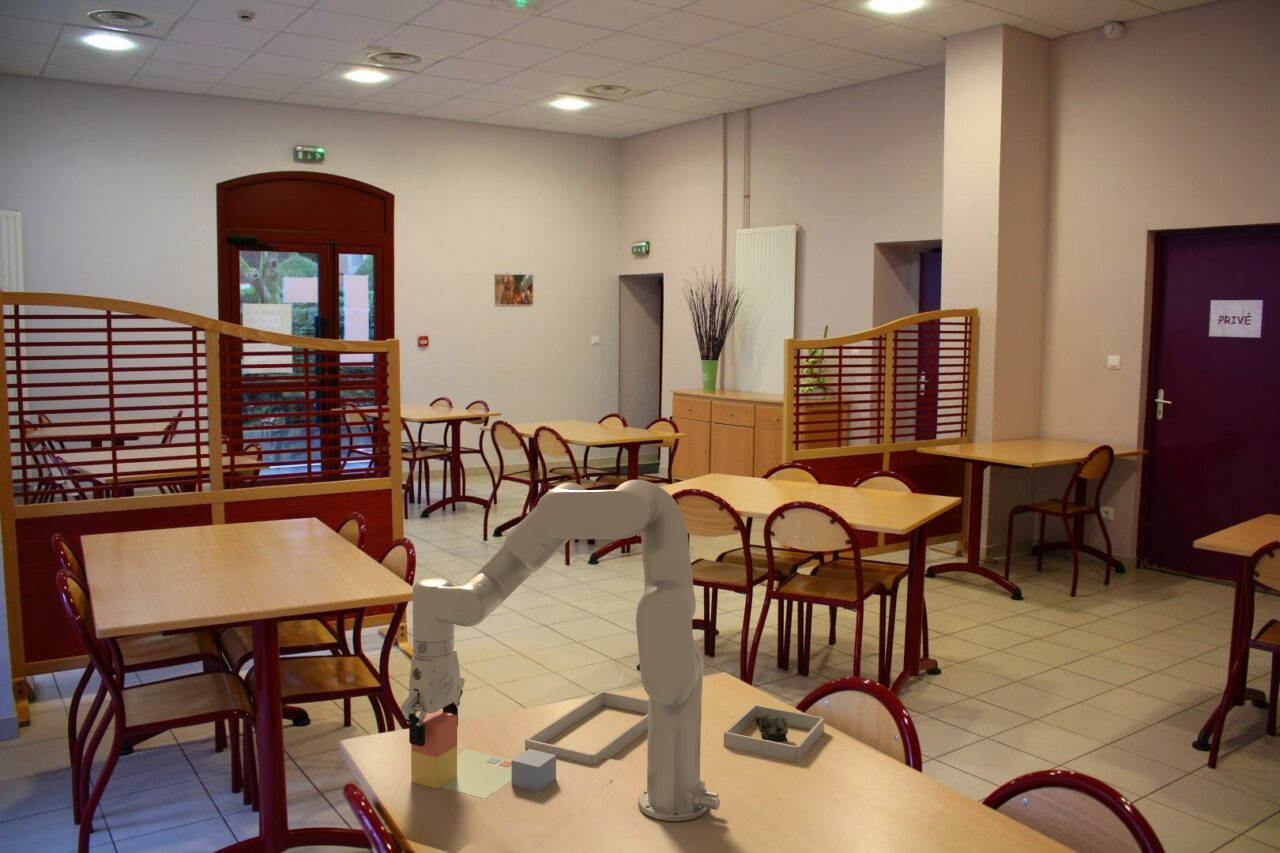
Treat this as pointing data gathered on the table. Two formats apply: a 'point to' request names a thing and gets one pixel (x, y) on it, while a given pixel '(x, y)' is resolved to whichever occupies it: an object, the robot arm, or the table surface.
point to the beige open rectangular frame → (581, 711)
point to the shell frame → (770, 747)
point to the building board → (480, 774)
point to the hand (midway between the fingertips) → (434, 735)
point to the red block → (438, 734)
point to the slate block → (533, 770)
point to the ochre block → (433, 768)
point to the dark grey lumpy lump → (773, 727)
